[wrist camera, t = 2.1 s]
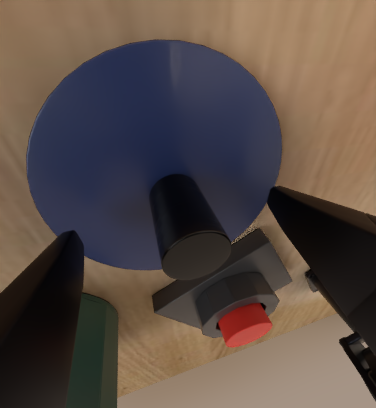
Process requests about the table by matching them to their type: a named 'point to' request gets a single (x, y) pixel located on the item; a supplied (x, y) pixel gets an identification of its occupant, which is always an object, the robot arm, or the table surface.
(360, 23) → the table surface
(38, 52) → the table surface
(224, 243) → the lid
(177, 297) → the switch block
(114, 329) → the pot
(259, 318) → the button
